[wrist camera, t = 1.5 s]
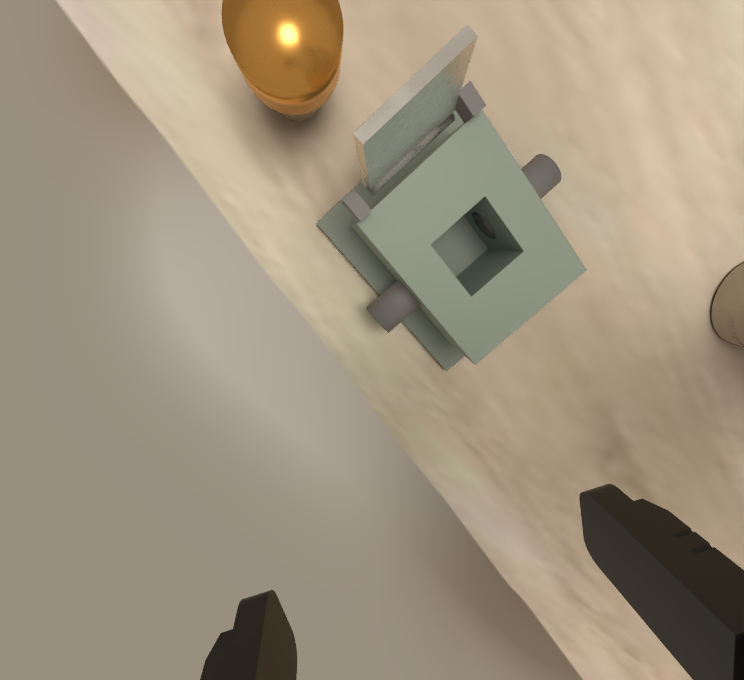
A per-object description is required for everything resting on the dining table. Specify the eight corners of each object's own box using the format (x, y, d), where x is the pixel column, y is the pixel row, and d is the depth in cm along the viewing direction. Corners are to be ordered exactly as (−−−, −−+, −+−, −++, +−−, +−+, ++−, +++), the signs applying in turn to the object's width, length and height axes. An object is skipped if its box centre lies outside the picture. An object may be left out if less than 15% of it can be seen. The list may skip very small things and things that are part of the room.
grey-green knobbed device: (466, 84, 30) (514, 32, 23) (577, 254, 35) (648, 259, 28) (303, 235, 32) (297, 235, 24) (431, 378, 37) (460, 416, 29)
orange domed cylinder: (297, 27, 28) (284, -81, 18) (353, 100, 30) (367, 36, 20) (238, 86, 29) (195, 11, 19) (296, 155, 30) (283, 118, 21)
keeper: (441, 110, 25) (464, 20, 17) (453, 124, 25) (481, 40, 17) (362, 184, 25) (349, 129, 18) (373, 198, 25) (366, 148, 18)
